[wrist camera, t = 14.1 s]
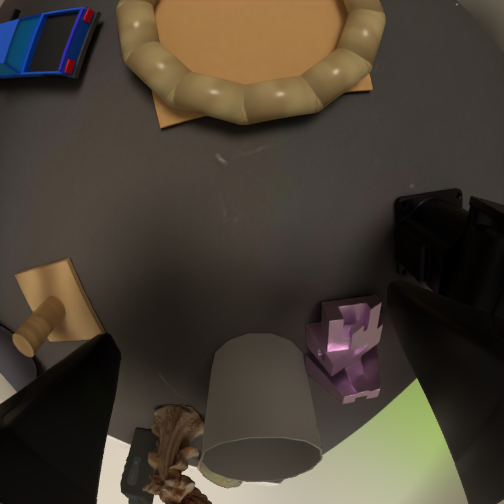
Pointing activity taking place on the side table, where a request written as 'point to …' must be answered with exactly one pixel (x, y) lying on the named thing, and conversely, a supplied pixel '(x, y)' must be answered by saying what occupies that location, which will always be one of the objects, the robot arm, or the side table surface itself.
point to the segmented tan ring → (255, 94)
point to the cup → (260, 411)
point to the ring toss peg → (54, 307)
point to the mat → (248, 40)
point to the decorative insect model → (217, 478)
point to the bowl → (13, 367)
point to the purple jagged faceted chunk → (346, 348)
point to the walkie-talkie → (139, 468)
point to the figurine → (175, 455)
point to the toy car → (46, 43)
